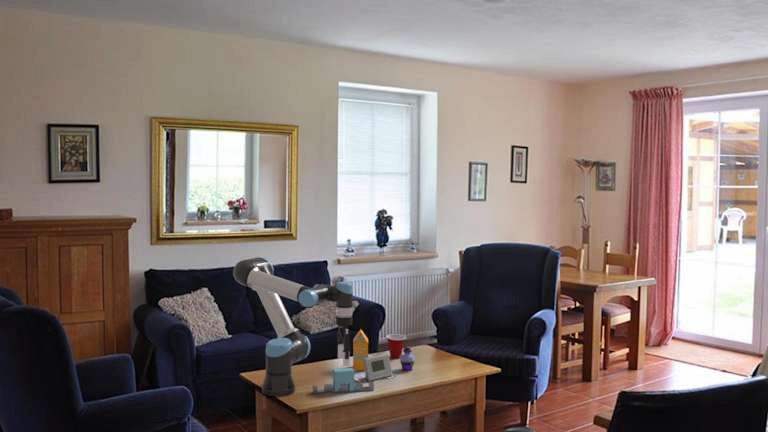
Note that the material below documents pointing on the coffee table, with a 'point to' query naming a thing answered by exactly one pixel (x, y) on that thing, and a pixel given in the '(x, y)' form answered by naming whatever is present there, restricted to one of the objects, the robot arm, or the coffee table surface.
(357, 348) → the orange juice
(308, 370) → the coffee table surface
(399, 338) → the plastic cup
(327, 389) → the rail
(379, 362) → the digital clock
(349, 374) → the block
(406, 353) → the potion bottle
